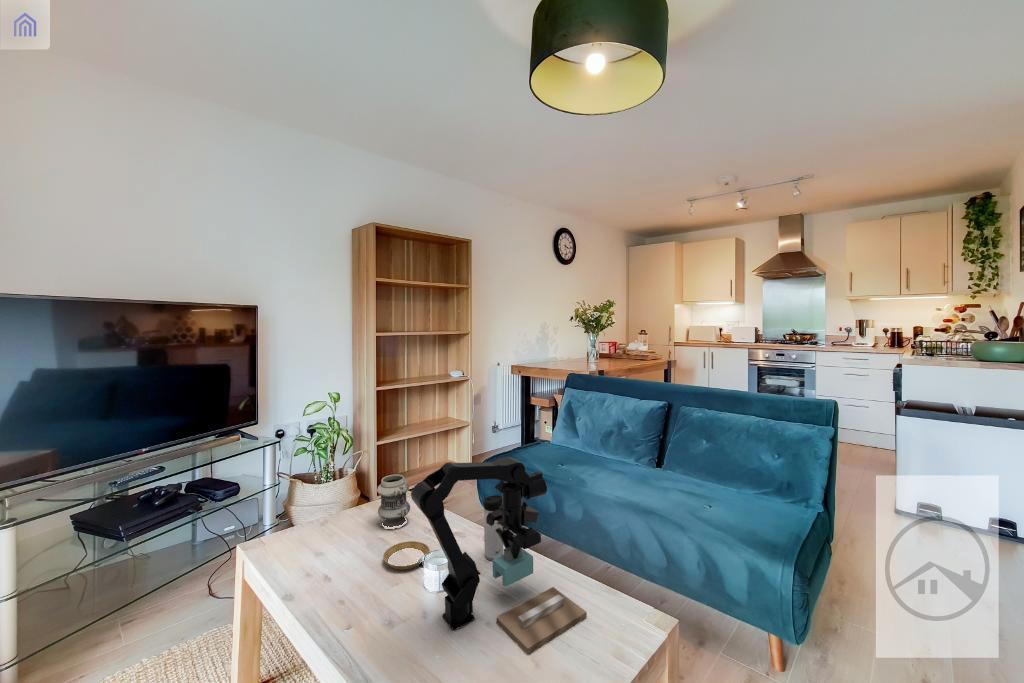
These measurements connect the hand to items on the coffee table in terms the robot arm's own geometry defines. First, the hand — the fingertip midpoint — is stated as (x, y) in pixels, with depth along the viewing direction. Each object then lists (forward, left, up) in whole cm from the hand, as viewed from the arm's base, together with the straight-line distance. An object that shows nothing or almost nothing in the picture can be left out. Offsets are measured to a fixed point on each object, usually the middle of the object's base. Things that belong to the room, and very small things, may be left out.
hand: (512, 556), depth 120 cm
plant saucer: (-17, +36, -12) cm, 41 cm away
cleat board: (0, -12, -11) cm, 17 cm away
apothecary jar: (-11, +62, -12) cm, 64 cm away
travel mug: (+7, +20, -12) cm, 24 cm away
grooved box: (0, 0, -5) cm, 5 cm away
